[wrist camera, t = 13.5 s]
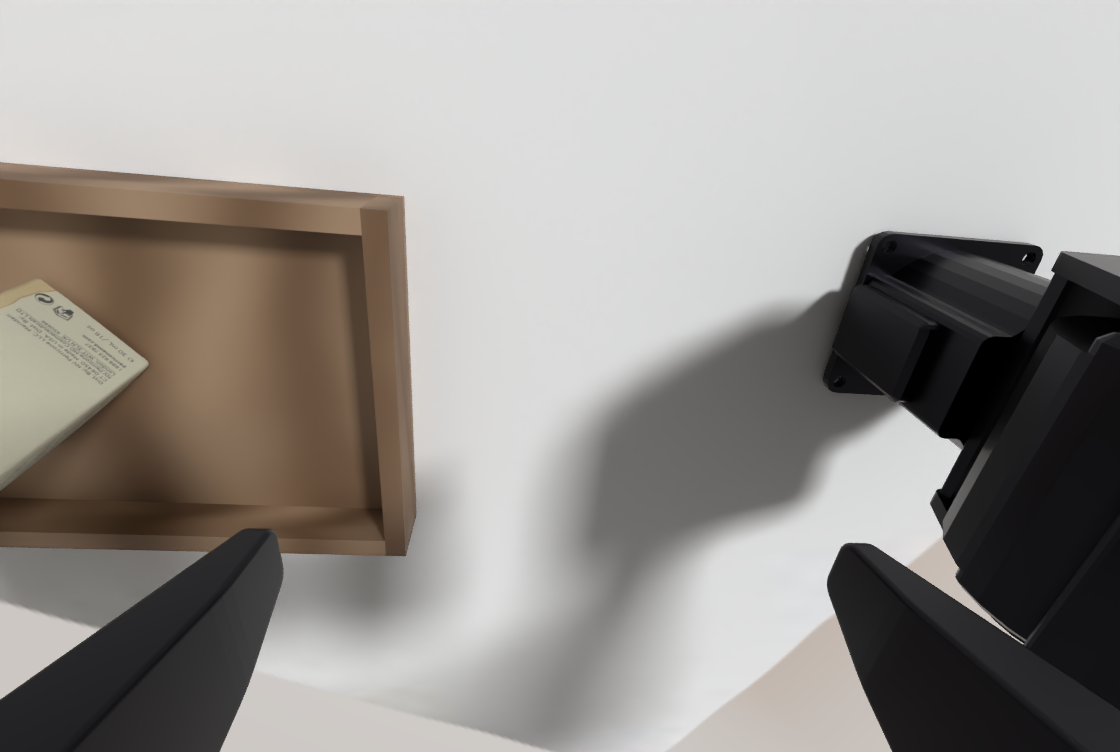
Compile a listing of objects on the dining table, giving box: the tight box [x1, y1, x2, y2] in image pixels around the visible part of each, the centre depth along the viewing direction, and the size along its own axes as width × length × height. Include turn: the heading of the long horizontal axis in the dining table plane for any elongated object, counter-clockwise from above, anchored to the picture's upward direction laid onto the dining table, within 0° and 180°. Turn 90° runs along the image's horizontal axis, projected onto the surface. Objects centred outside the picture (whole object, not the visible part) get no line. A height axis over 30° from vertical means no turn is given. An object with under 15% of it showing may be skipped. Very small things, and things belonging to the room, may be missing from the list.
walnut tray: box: [0, 163, 416, 556], centre depth 19 cm, size 20×14×2 cm
